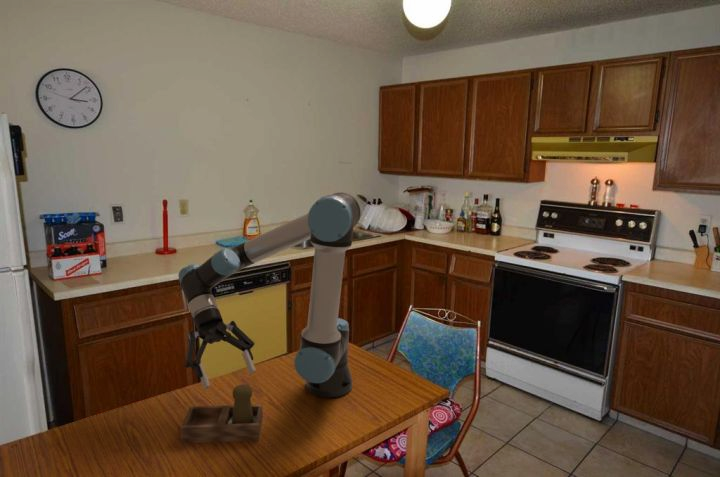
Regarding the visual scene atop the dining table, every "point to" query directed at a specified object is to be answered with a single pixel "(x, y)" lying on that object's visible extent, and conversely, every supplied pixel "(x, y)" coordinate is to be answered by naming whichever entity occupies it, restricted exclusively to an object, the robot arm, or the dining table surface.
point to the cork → (242, 405)
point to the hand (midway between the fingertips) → (230, 379)
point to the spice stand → (219, 425)
